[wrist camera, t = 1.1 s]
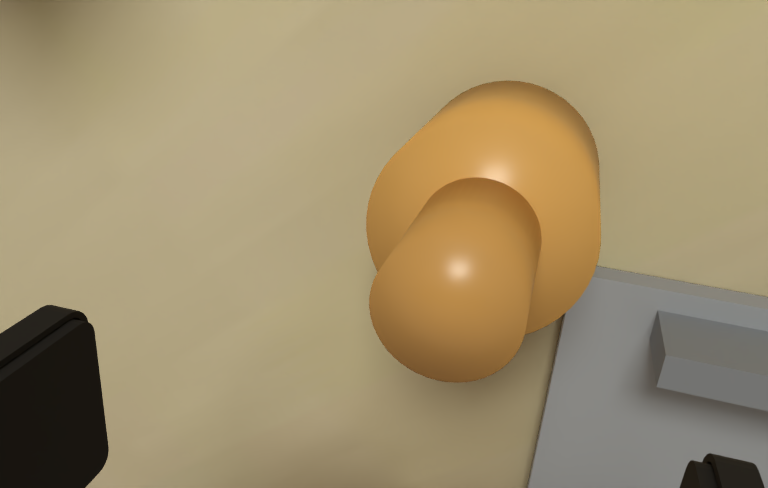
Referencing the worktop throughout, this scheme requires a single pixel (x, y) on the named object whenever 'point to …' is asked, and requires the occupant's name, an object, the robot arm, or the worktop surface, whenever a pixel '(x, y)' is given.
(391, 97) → the worktop surface
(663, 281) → the u rest
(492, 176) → the amber bottle
